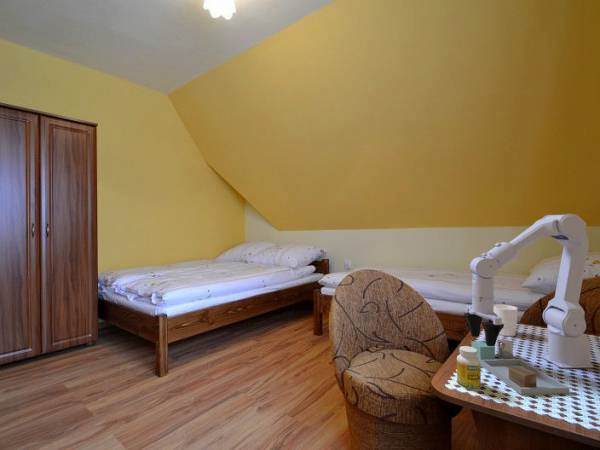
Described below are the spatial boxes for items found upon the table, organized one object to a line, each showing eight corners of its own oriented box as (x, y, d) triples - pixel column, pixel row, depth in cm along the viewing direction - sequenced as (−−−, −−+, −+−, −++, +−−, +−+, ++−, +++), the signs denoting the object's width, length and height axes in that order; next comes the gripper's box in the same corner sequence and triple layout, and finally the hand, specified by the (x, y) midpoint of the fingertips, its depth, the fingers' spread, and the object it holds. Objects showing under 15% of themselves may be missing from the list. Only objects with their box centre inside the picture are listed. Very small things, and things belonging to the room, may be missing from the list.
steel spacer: (506, 355, 98) (506, 339, 98) (516, 360, 94) (516, 344, 94) (494, 355, 98) (494, 339, 98) (503, 360, 94) (503, 344, 94)
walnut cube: (520, 381, 80) (520, 366, 80) (536, 389, 77) (536, 373, 77) (508, 384, 79) (508, 368, 79) (524, 392, 75) (524, 375, 75)
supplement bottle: (469, 380, 83) (469, 344, 83) (486, 390, 77) (485, 352, 77) (452, 382, 81) (452, 345, 81) (467, 393, 76) (467, 354, 76)
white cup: (521, 337, 113) (521, 310, 113) (497, 336, 115) (497, 309, 115) (511, 330, 121) (511, 304, 121) (489, 329, 122) (489, 303, 122)
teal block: (485, 355, 98) (485, 341, 98) (494, 361, 94) (494, 346, 94) (471, 355, 98) (471, 341, 98) (480, 362, 94) (480, 347, 94)
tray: (519, 365, 91) (519, 358, 91) (569, 396, 75) (569, 387, 75) (479, 366, 90) (479, 359, 90) (520, 397, 74) (520, 388, 74)
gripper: (457, 291, 103) (457, 332, 103) (484, 302, 89) (484, 350, 89) (478, 291, 103) (477, 332, 103) (509, 302, 89) (508, 350, 89)
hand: (482, 340), depth 96 cm, fingers open, 7 cm apart
